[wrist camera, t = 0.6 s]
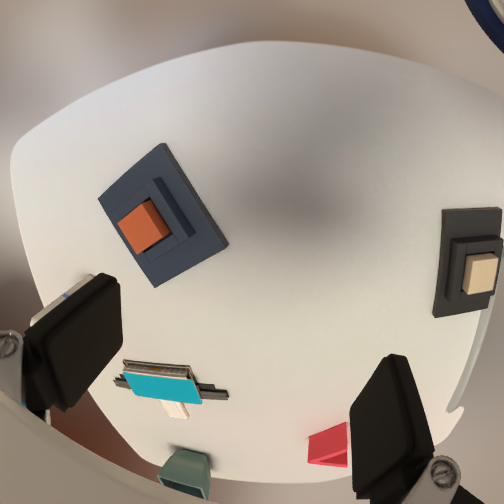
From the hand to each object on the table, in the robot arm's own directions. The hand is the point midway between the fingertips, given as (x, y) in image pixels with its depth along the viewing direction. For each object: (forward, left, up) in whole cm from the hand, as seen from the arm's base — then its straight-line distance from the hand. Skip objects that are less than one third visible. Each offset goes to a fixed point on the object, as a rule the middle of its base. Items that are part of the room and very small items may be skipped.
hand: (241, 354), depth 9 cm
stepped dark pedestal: (+14, +16, -19) cm, 28 cm away
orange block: (-6, -11, -17) cm, 21 cm away
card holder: (+15, -28, -19) cm, 37 cm away
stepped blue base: (-6, -11, -19) cm, 23 cm away
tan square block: (+14, +16, -17) cm, 27 cm away
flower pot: (+34, -38, -19) cm, 55 cm away
